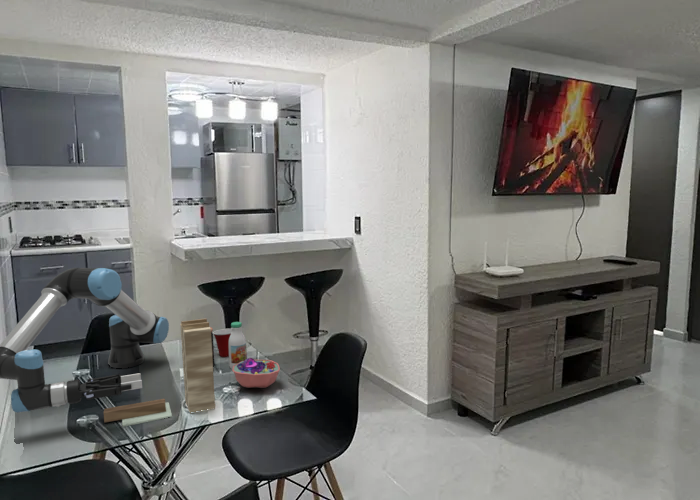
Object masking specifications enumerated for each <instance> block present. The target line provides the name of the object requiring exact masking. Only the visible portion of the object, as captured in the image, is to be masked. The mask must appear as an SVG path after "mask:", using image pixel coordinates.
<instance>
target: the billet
mask: <svg viewBox="0 0 700 500" xmlns="http://www.w3.org/2000/svg"><path fill="white" fill-rule="evenodd" d="M165 403H166V399H165V398H161V399H154V400H148V401H143V402H136V403H130V404H125V405H119V406H113V407H107V408H103V421H104V424H105V423H109V422H114V421H115V422H116V421H122V419H127V418H133V417H138V416H144V415H149V414H155V413H161V412H166V404H165Z"/></svg>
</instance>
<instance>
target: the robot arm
mask: <svg viewBox="0 0 700 500" xmlns="http://www.w3.org/2000/svg"><path fill="white" fill-rule="evenodd" d="M121 279H122V278H121V277H120V275H119V273H118V272H117V271H116V270H114V269H111V268H106V267H105V268H104V267H99V268H95V267H94V268H93V267H91V268H90V267H72V268H68V269H66V270H63V271H62V272H61V273H58V275H56V276H55V277H53V278H52V279H51V280H50V281H49V282H48V283H47V284H46V285H45V286H44V287H43V288H42V290H41V292H40V293H41V295H40V296H39V298H38V299H37V301H35V303H34V304H32V306H31V307H30V308H29V310H28V311H26V313H25V314H24V316H23V317H22V318H21V319H20V320H19V322H17V324H16V325H15V326H14V327H13V328H12V330H11V331H10V332H9V333H8V335H7V336H5V338H4V339H3V340H2V341H1V343H0V379H1V380H3V379H4V380H12V381H13V380H14V381H16V382H17V388H16V389H15V388H14V389H13V390H12V391H11V394H10V403H11V404H10V405H11V409H12V411H13V412H14V413H25V412H32V411H36V410H42V409H47V408H52V407H56V408H59V407H61V406H65V405H66V404H67V403H68V404H69V405H71V404H77V403H80V402H81V400H82V398H86V401H90V400H94V399H102V398H107V397H114V396H120V395H122V392H126V391H133V390H138V389H143V380H142V375H141V373H133V374H127V375H121V373H118V374H112V375H105V376H100V377H95V378H88V379H87V381H86V382H84V383H81V381H80V379H71V380H68V381H59V382H58V381H57V382H51V383H48V384H47V383H46V382H45V381H46V380H45V368H44V367H45V366H44V360H43V355H42V351H41V350H39V349H28V348H29V347H30V346H31V345H32V343H33V342H34V341H35V340H36V338H37V337H38V335H40V333H42V330H43V329H44V328H45V327H46V326H47V324H48V323H49V322H50V320H51V319H52V318H53V316H54V315H55V314H56V313H57V312H58V310H59V309H60V308H61V307H64V306H66V305H67V304H68V303H69V301H71V300H73V299H84V300H85V299H87V300H89V301H90V302H92V303H94V304H95V305H96V306H99V307H105V308H107V309H108V310H109V311H111V313H113V314H114V315H112V316H110V318H109V319H108V320H109V321H108V323H109V324H108V327H109V328H108V329H109V338H110V353H109V355H108V359H107V364H109V365H110V366H111V367H115V368H114V369H116V368H122V369H128V367H129V368H133V367H137V366H139V365H141V364H143V363H144V362H145V355H144V353H143V350H142V348H141V347H140V343H149V344H162V343H164V341H166V338H168V335H169V334H168V333H169V330H170V325H169V320H168V318H167V317H164V316H157V315H156V314H155V313H154V312H152V311H150V310H146V309H144V308H142V307H141V306H140V305H139V304H138V303H137V302H136V301H135V300H133V299H132V297H130V296H129V295H128V294H127V293H125V292H124V290H122V287H123V285H122V284H123V283H122V281H121ZM111 367H110V368H111Z"/></svg>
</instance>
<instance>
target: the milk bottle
mask: <svg viewBox="0 0 700 500" xmlns="http://www.w3.org/2000/svg"><path fill="white" fill-rule="evenodd" d="M242 325H243V323H242V322H241V321H233V322H231V324H230V329H232V332H231V335H230V337H229V356H228V363H229V368H230V369H231V370H232V369H233V366H234V365H236V364H237V363H239V362H241V361H245V360H246V359H248V356H247V355H248V352H247V339H246V336H245V335H244V333H243V330H242V328H243V326H242Z"/></svg>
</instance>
